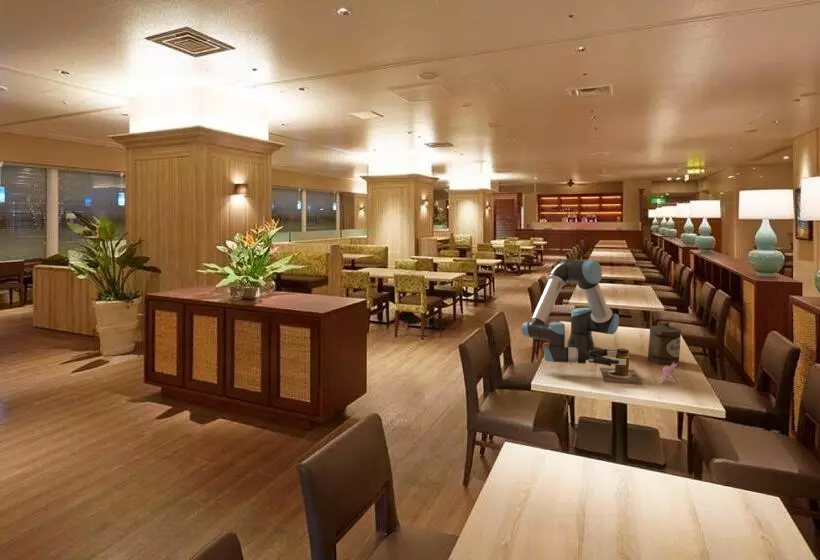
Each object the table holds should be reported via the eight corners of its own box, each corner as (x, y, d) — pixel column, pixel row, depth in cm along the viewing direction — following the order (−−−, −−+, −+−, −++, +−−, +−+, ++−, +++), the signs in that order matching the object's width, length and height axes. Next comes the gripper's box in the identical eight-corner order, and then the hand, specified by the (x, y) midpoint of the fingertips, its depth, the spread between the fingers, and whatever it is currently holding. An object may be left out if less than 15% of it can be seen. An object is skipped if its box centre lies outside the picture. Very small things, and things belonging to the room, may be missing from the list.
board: (599, 369, 261) (599, 366, 261) (633, 371, 257) (634, 369, 257) (604, 382, 242) (604, 379, 241) (641, 384, 238) (641, 381, 238)
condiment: (632, 374, 248) (633, 350, 246) (621, 377, 243) (622, 352, 242) (619, 371, 254) (620, 347, 252) (608, 373, 249) (609, 349, 248)
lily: (665, 378, 250) (656, 361, 249) (690, 374, 241) (680, 356, 241) (659, 392, 241) (649, 374, 241) (684, 388, 233) (674, 370, 232)
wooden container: (674, 367, 264) (677, 325, 261) (644, 362, 273) (646, 321, 270) (682, 361, 275) (684, 320, 272) (652, 356, 284) (654, 317, 282)
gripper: (574, 356, 265) (619, 358, 260) (578, 370, 241) (627, 373, 236) (575, 341, 264) (619, 344, 259) (579, 354, 240) (628, 357, 235)
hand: (623, 358), depth 248 cm, fingers open, 13 cm apart
